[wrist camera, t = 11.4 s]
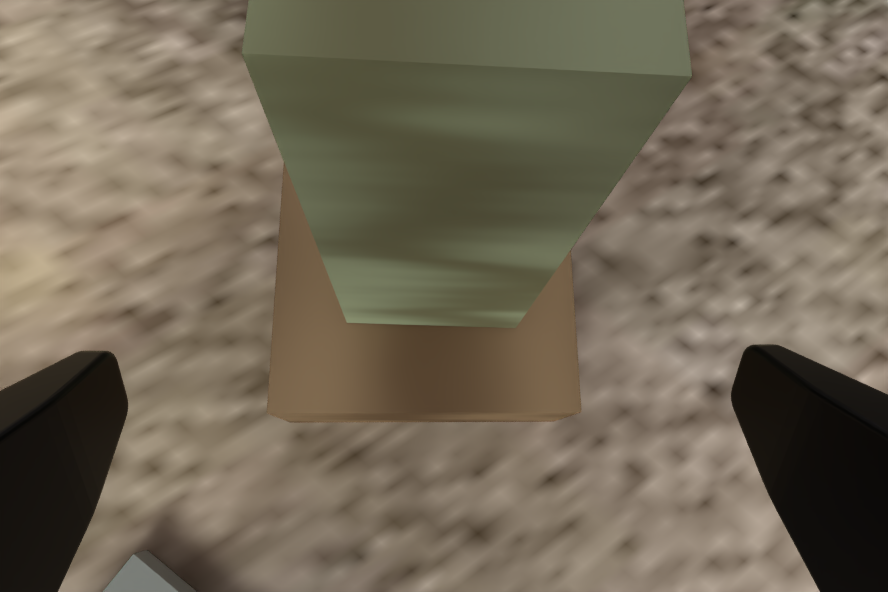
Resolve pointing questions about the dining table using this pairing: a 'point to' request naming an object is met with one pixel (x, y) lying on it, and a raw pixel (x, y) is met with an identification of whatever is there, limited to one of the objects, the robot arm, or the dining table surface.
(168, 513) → the dining table surface
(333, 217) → the sage pillar
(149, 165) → the dining table surface
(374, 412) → the walnut base block
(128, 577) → the board
